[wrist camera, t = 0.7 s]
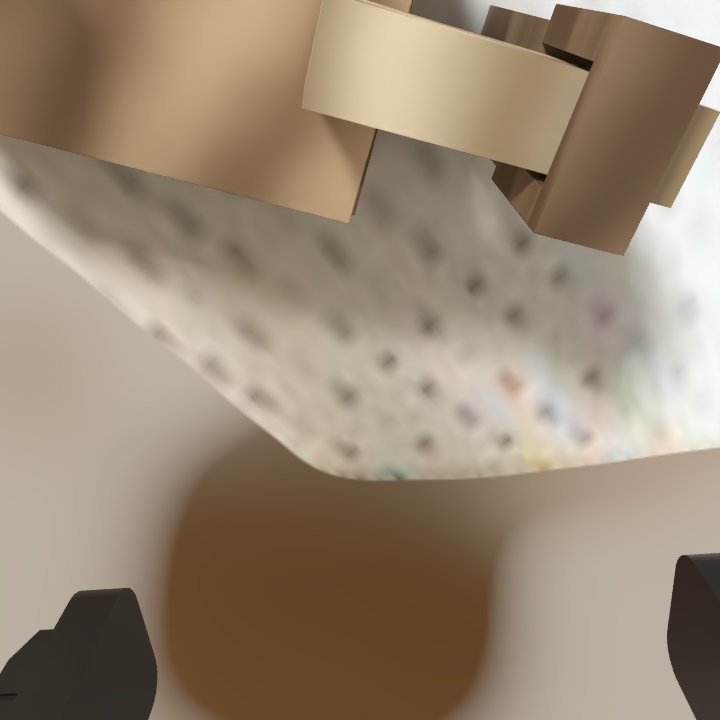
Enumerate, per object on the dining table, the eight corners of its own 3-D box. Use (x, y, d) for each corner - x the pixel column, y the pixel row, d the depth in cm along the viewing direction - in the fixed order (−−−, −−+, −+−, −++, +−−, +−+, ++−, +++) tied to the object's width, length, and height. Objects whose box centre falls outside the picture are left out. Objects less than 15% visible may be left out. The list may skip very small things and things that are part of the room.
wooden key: (304, 85, 22) (301, 108, 19) (325, -13, 21) (325, -8, 17) (621, 173, 24) (670, 207, 21) (660, 89, 23) (720, 112, 19)
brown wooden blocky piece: (-80, 53, 30) (-383, 121, 17) (-102, -297, 24) (-591, -597, 11) (485, 199, 35) (582, 338, 22) (583, -63, 29) (792, -84, 16)
